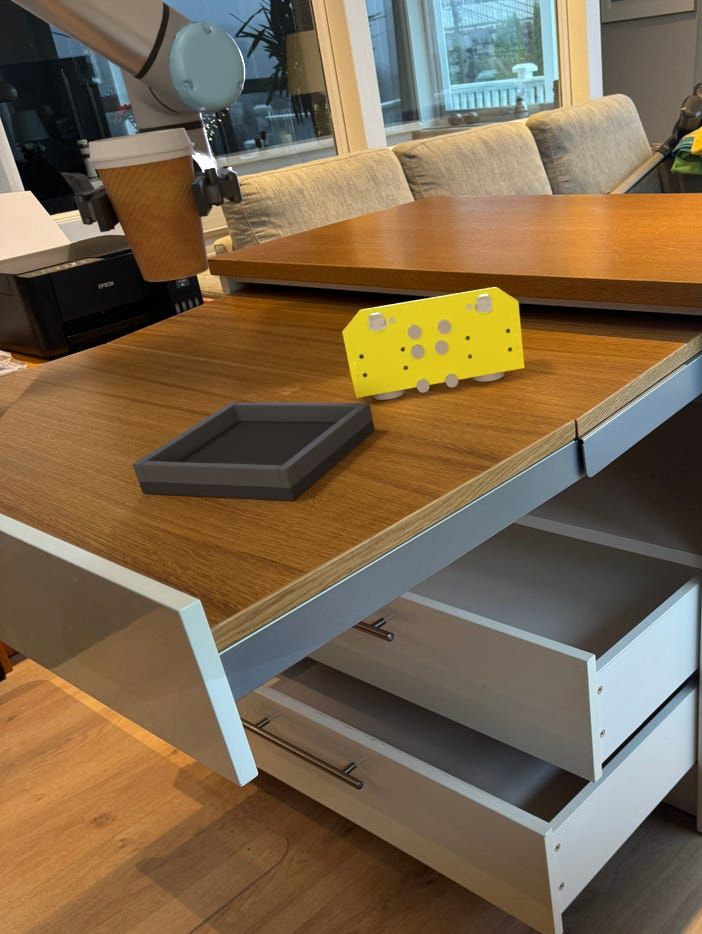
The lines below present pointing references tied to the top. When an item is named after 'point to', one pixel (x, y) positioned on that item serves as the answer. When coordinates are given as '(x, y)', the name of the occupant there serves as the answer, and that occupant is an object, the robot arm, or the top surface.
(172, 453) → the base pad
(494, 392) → the top surface
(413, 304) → the yellow toy chassis
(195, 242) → the disposable coffee cup
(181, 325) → the top surface
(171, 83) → the robot arm
